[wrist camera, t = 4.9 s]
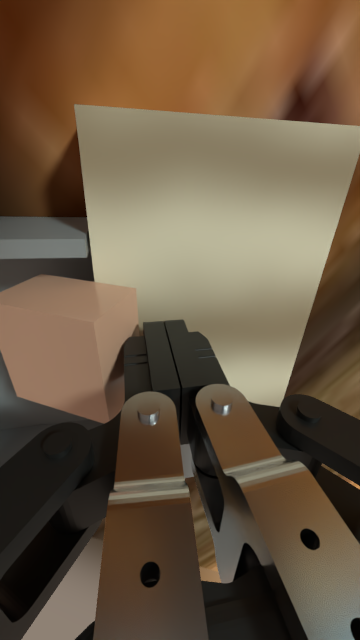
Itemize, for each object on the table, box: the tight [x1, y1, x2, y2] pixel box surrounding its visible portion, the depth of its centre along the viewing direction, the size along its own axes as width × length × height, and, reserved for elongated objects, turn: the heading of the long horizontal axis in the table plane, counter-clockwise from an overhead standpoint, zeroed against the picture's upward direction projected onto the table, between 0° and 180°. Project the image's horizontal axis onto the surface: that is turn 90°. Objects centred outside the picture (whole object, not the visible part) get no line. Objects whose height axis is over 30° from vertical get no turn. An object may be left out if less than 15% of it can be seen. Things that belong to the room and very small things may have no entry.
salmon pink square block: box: [0, 274, 139, 424], centre depth 10 cm, size 4×4×2 cm
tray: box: [0, 217, 103, 467], centre depth 13 cm, size 12×7×4 cm, turn 177°
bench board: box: [74, 104, 360, 407], centre depth 13 cm, size 14×9×3 cm, turn 177°
